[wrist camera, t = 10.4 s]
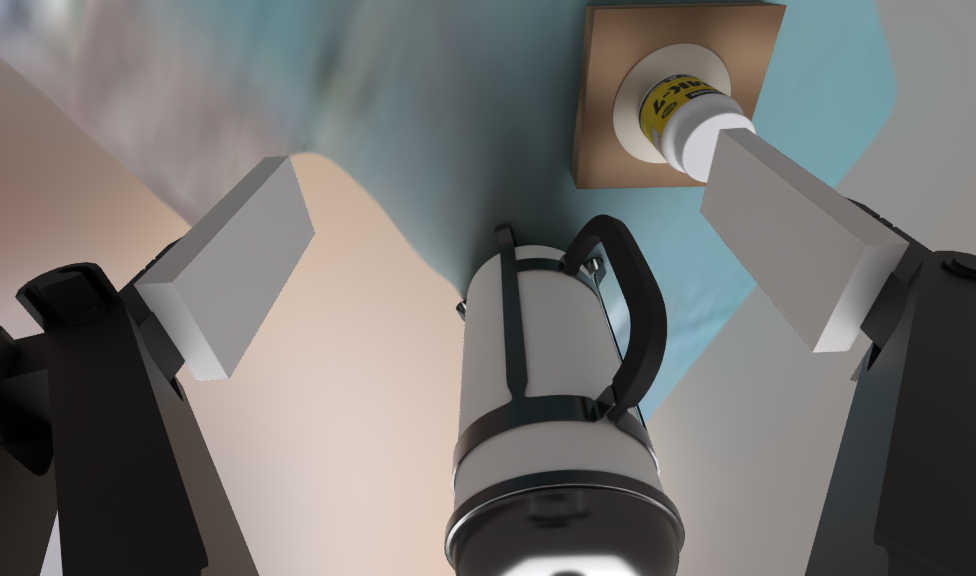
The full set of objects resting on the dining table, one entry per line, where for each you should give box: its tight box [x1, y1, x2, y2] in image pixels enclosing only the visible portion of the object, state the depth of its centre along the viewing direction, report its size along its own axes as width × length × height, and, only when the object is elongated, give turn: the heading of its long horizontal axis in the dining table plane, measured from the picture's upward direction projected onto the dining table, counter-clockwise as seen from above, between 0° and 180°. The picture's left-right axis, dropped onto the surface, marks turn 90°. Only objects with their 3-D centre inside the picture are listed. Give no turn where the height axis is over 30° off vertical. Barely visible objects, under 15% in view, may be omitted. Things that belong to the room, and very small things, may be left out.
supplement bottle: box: [638, 74, 756, 182], centre depth 29 cm, size 5×5×8 cm
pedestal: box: [571, 2, 787, 189], centre depth 33 cm, size 12×12×3 cm
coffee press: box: [445, 214, 685, 576], centre depth 32 cm, size 17×16×30 cm
